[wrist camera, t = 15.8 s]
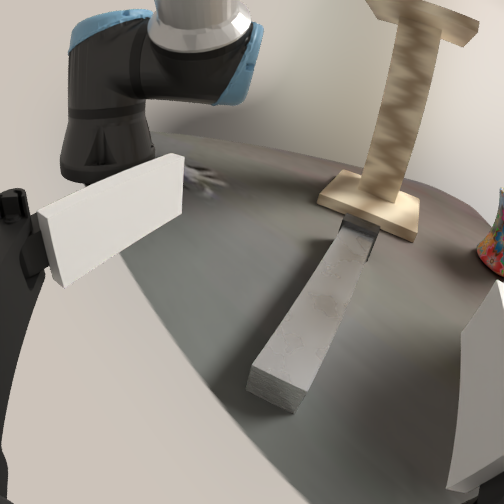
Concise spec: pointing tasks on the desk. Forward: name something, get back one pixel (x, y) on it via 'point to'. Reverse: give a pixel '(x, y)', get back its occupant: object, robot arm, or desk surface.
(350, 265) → the metal block
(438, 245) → the desk surface
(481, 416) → the robot arm
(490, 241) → the multicoloured narrow piece
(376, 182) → the birch stand
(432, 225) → the desk surface
